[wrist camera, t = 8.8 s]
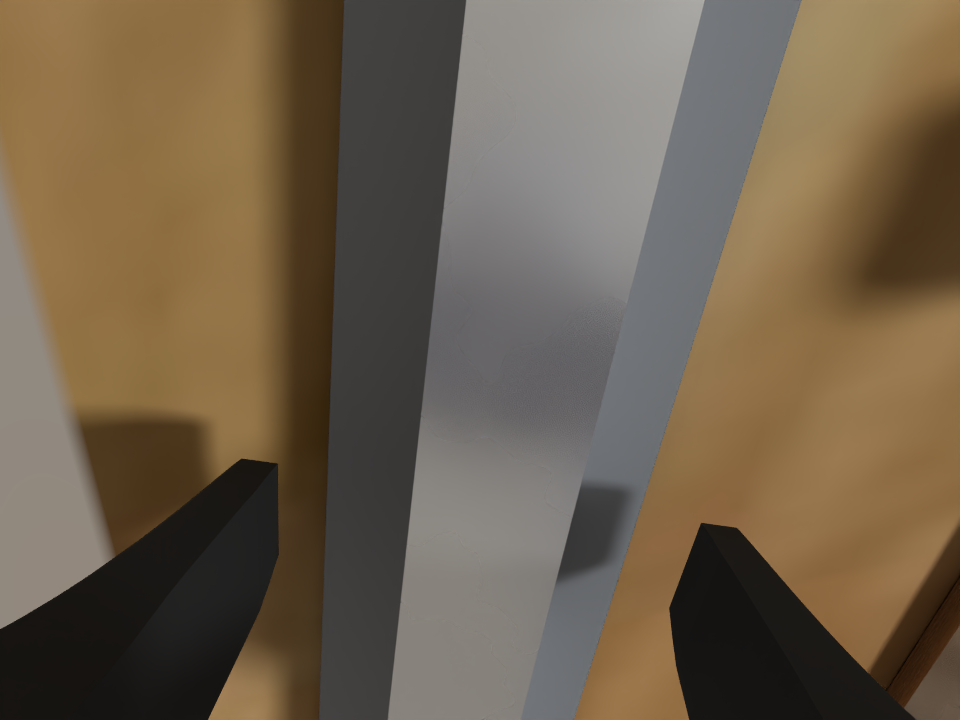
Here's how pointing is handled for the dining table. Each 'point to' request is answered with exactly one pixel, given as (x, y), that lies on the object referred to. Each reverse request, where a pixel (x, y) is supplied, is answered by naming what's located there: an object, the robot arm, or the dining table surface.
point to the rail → (526, 325)
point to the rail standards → (933, 667)
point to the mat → (408, 312)
